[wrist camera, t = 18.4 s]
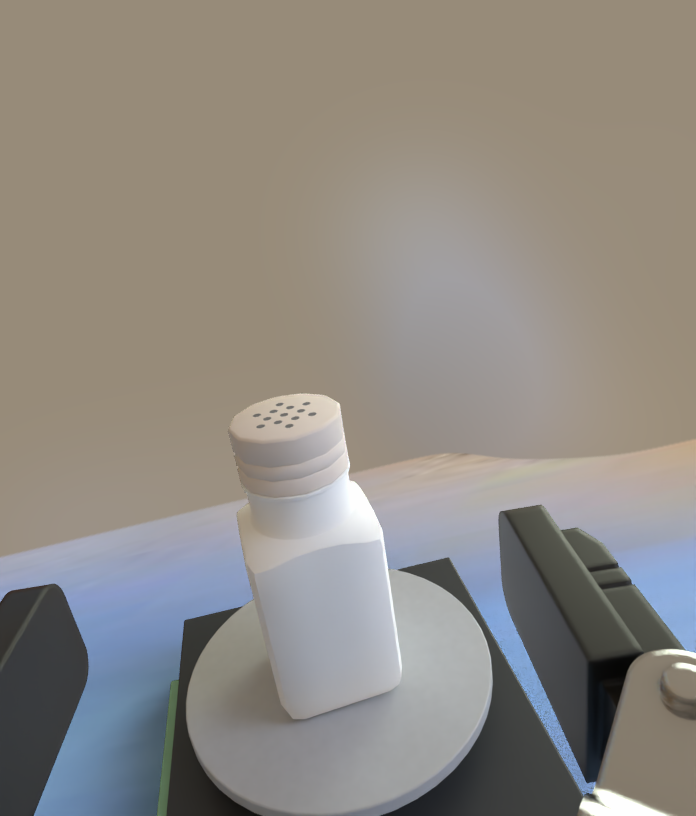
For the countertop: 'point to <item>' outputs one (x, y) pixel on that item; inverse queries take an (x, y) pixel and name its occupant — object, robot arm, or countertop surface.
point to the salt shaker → (313, 557)
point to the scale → (362, 724)
